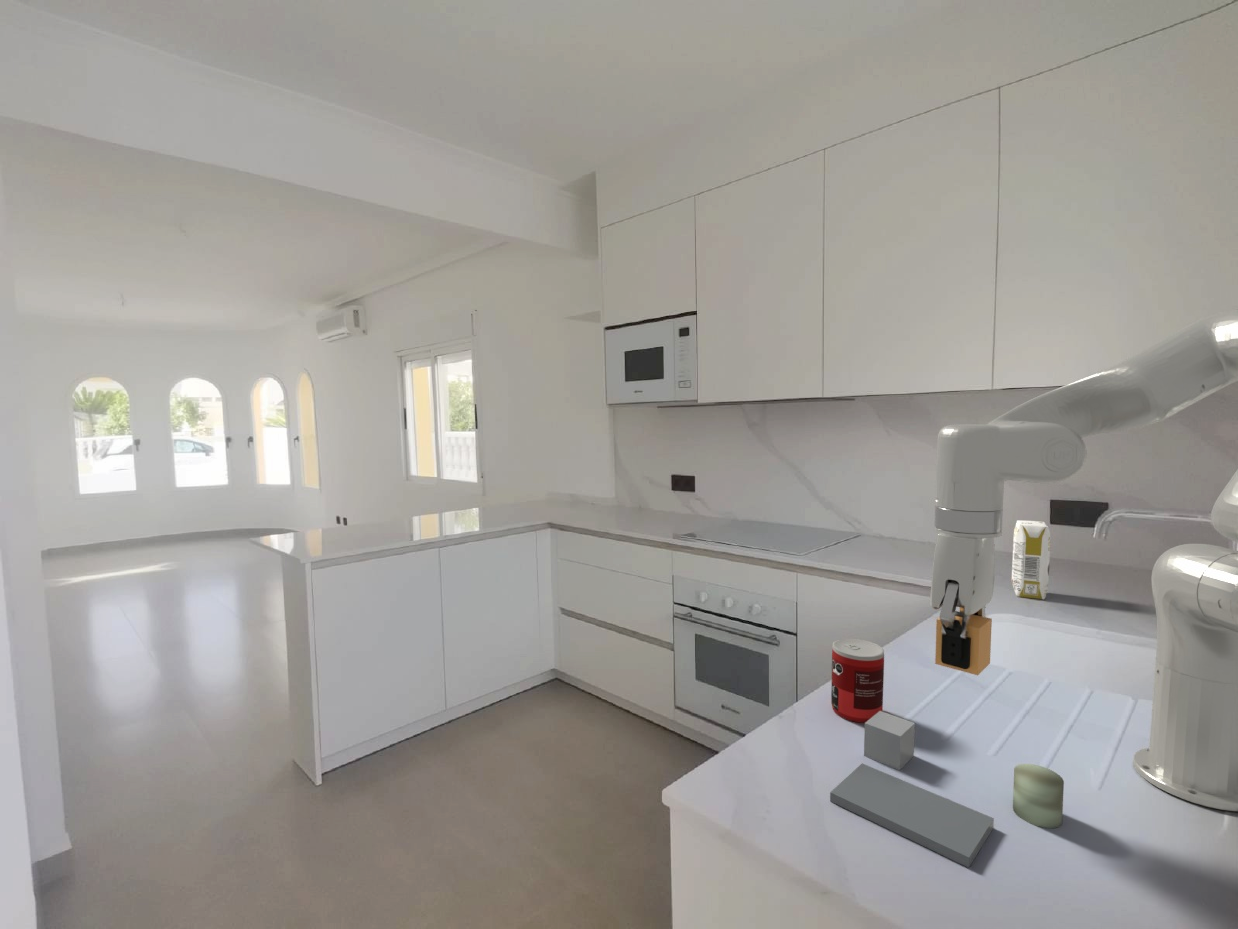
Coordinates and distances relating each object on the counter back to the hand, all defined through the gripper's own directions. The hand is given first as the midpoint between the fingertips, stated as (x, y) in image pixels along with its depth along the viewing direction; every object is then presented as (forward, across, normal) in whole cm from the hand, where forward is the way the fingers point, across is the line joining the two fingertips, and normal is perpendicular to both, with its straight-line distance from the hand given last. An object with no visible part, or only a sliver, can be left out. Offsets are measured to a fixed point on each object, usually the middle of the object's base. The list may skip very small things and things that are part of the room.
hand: (962, 657), depth 80 cm
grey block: (+17, 0, -9) cm, 20 cm away
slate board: (+17, +11, -2) cm, 21 cm away
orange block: (+1, 0, 0) cm, 1 cm away
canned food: (+17, -9, -18) cm, 27 cm away
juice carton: (+18, -100, -14) cm, 102 cm away
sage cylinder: (+17, 0, +9) cm, 19 cm away
